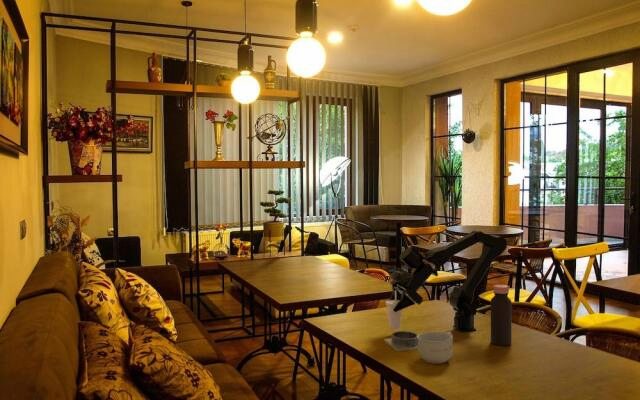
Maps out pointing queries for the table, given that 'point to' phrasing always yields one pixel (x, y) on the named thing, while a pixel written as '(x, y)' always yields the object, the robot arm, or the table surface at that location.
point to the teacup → (435, 346)
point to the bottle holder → (403, 340)
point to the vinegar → (501, 316)
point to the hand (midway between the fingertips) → (390, 308)
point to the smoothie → (393, 314)
